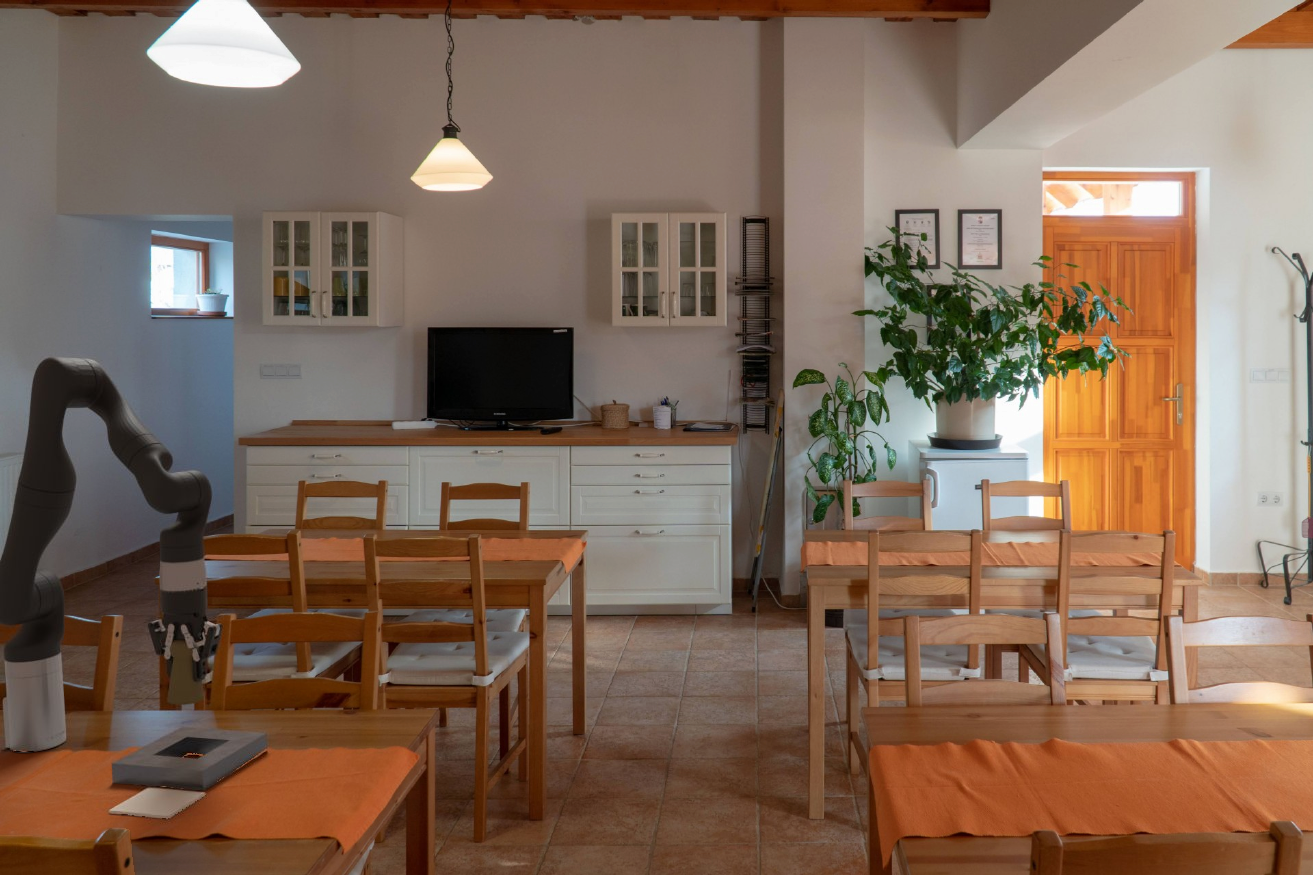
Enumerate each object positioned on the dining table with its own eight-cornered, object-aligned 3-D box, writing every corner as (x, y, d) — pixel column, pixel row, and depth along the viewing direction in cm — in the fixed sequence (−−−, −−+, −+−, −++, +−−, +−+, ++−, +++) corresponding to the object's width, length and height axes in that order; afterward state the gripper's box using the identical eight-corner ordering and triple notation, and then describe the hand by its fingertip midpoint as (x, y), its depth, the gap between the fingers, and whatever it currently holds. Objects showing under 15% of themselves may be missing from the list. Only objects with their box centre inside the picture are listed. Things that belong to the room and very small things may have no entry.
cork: (191, 706, 180) (191, 644, 179) (159, 702, 181) (159, 641, 180) (211, 694, 186) (211, 635, 185) (180, 691, 187) (180, 632, 186)
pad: (109, 813, 165) (108, 810, 165) (148, 790, 174) (148, 787, 174) (168, 819, 163) (168, 816, 163) (205, 795, 171) (205, 792, 171)
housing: (112, 783, 177) (111, 763, 177) (183, 744, 195) (182, 726, 194) (203, 791, 173) (202, 771, 173) (267, 751, 191) (266, 733, 190)
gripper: (133, 587, 179) (137, 683, 181) (204, 591, 176) (208, 689, 177) (163, 578, 187) (167, 670, 188) (232, 581, 183) (235, 675, 185)
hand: (187, 679), depth 183 cm, fingers closed on cork, 4 cm apart
